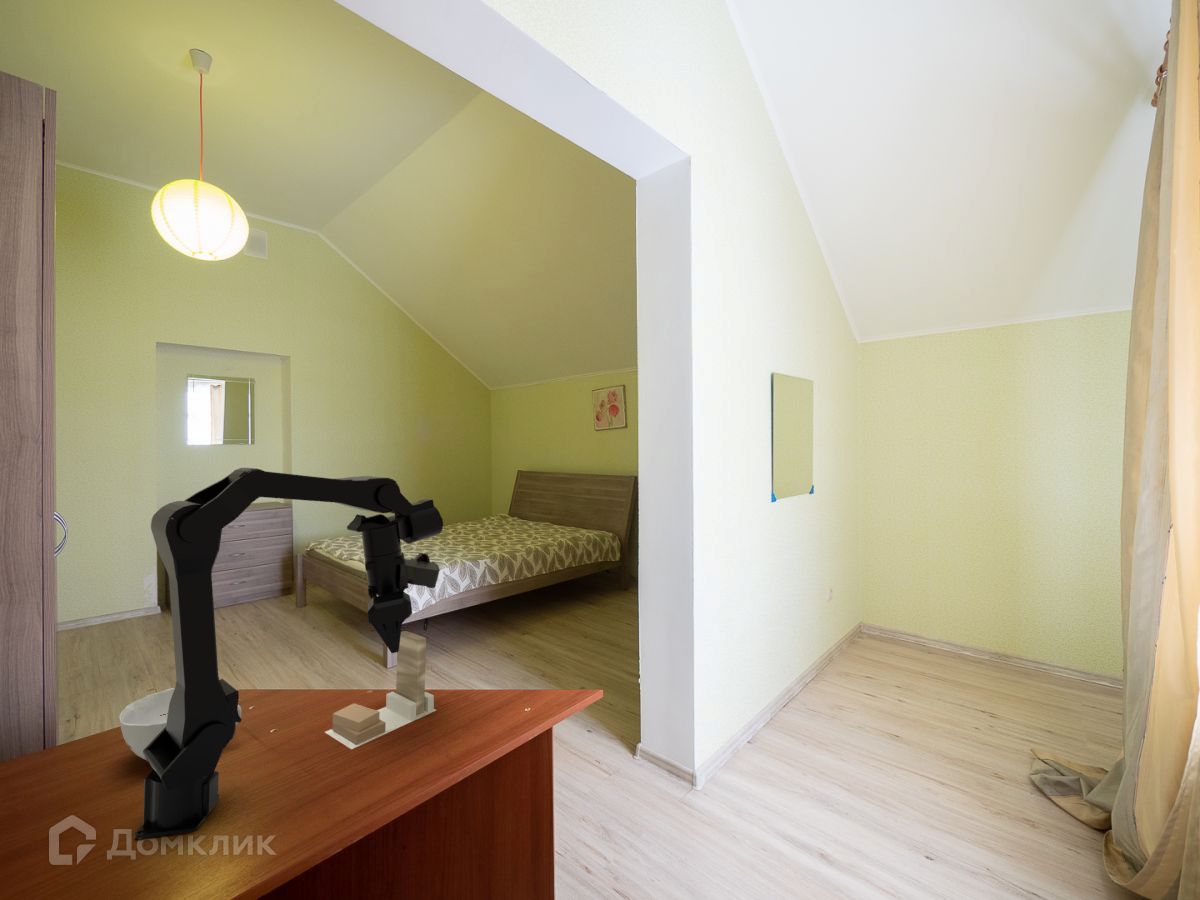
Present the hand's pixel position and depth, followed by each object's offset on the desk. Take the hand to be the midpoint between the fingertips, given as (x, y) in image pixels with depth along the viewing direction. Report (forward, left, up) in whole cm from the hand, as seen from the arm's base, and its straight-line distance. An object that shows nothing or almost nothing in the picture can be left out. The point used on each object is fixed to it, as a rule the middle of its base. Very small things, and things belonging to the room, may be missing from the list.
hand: (393, 640), depth 89 cm
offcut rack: (-1, +1, -15) cm, 15 cm away
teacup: (-30, -2, -15) cm, 33 cm away
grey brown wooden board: (+2, +4, -14) cm, 14 cm away
